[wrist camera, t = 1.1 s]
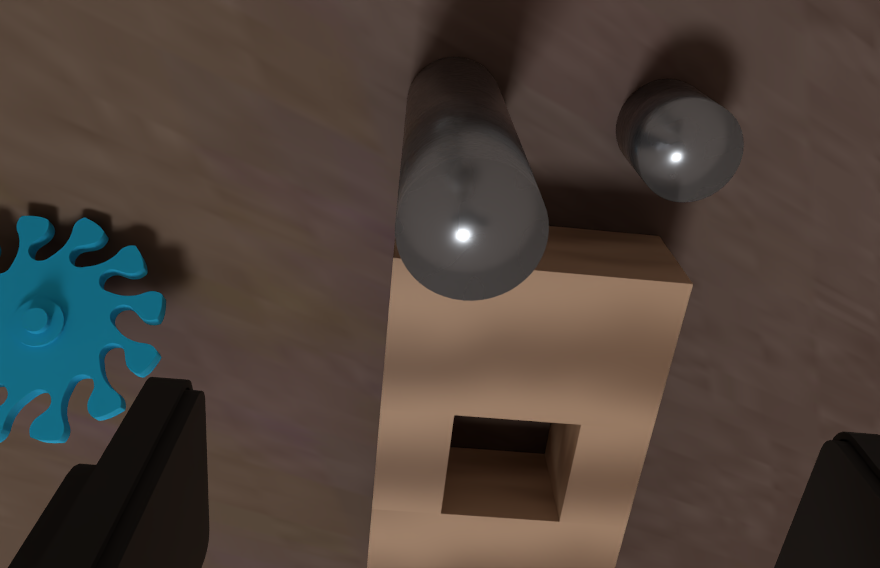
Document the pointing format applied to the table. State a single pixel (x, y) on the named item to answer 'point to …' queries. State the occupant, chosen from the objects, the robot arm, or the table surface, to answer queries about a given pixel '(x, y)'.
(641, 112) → the short pin
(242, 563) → the table surface
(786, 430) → the table surface
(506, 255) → the long pin
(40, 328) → the gear
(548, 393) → the hole block
